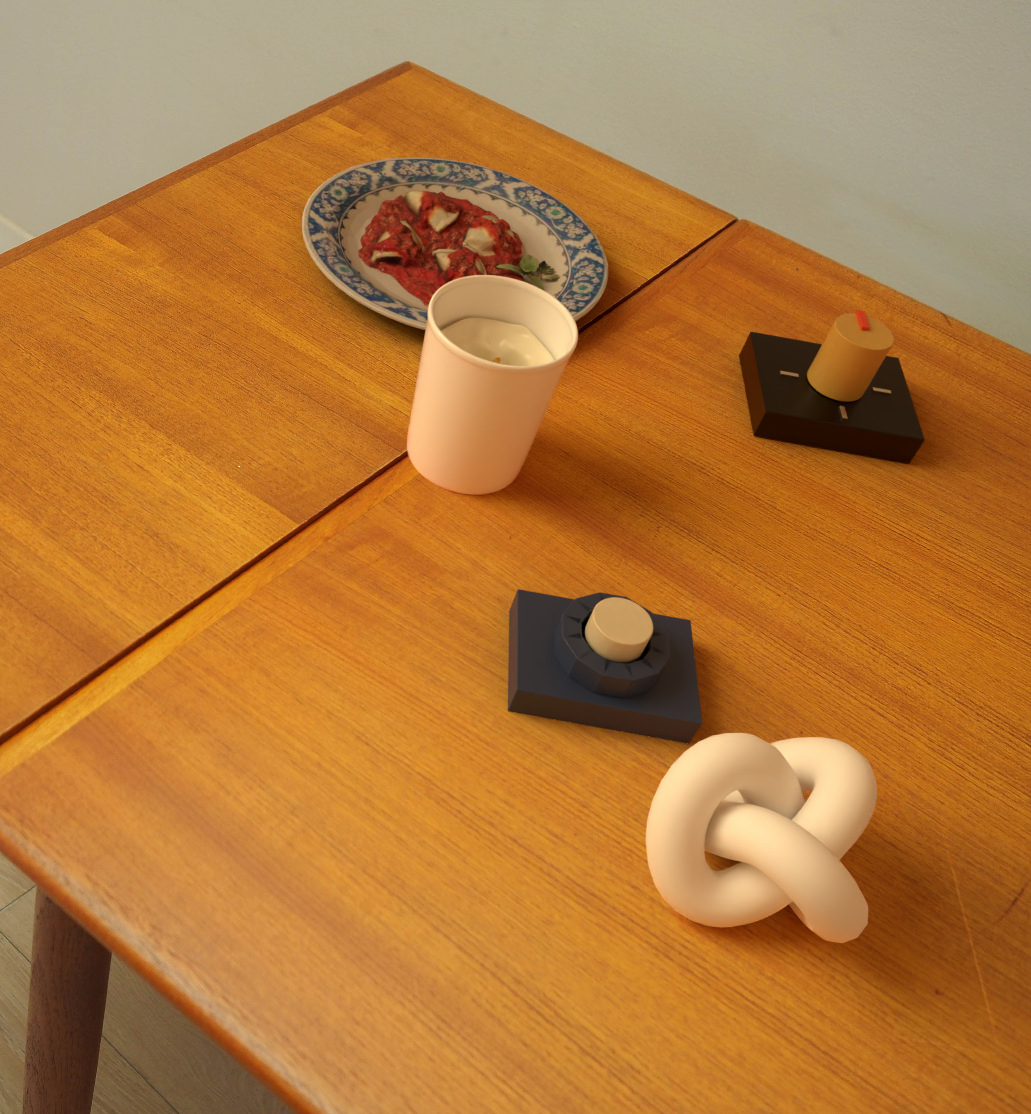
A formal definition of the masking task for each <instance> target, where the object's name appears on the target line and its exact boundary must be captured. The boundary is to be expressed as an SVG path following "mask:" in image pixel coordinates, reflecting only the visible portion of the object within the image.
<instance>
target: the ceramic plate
mask: <svg viewBox="0 0 1031 1114" xmlns="http://www.w3.org/2000/svg"><path fill="white" fill-rule="evenodd" d="M303 209H304V210H303V212H302V217H301V233H302V234H301V235H302V238H303V242H304V244H305V247H306V249H307V252H308V254H309V255H310V257H311V259H312V261H313V262H314V264H315V265H316V266H317V268H318V269H319V270H320V272H322V274H323V275H324V276H325V277H326V278H327V279H328V280H329V281H330V282H331V283H332V284H333V285H335V286H336V287H337V288H338V289H339V290H341V292H343V293H345V294H346V295H347V296H348V297H350V298H352V300H355V301H356V302H358V303H359V304H361V305H362V306H364V307H366V308H368V309H369V310H372V311H374V312H376V313H378V314H379V315H382V316H384V317H386V318H389V319H391V320H394V321H396V322H398V323H401V324H404V325H407V326H409V327H413V328H416V329H420V330H423V331H425V330H426V324H427V318H428V306H429V303H430V300H431V298H432V296H433V295H434V293H435V292H436V291H437V290H438V289H439V288H440V287H442V286H443V285H445V284H446V283H448V282H450V281H453V280H455V279H458V278H462V277H467V276H474V275H494V276H502V277H508V278H512V279H516V280H520V281H523V282H526V283H529V284H531V285H533V286H536V287H538V288H540V289H542V290H544V291H545V292H547V293H549V294H550V295H552V296H553V297H554V298H556V299H557V300H558V301H560V302H561V303H562V304H563V305H564V306H565V307H566V308H567V310H568V311H569V312H570V313H571V315H572V317H573V318H574V320H575V322H577V321H579V320H580V319H581V318H583V317H585V316H586V315H587V314H588V313H589V312H590V311H591V310H592V309H593V308H594V307H595V306H596V305H597V304H598V303H599V301H600V300H601V297H602V296H603V294H604V292H605V290H606V287H607V284H608V281H609V280H608V278H609V263H608V259H607V258H608V257H607V255H606V252H605V249H604V247H603V245H602V243H601V241H600V238H599V237H598V236H597V235H596V233H595V232H594V231H593V229H592V227H590V225H588V223H587V222H586V221H585V220H584V219H583V218H582V217H581V216H580V215H579V214H578V213H577V212H575V211H574V210H573V209H572V208H571V207H570V206H569V205H567V204H566V203H564V202H563V201H562V200H560V199H558V198H557V197H556V196H553V194H551V193H549V192H547V191H546V190H544V189H542V188H540V187H538V186H537V185H534V184H533V183H530V182H528V181H526V180H524V179H522V178H520V177H517V176H514V175H512V174H509V173H507V172H503V171H500V170H497V169H494V168H491V167H487V166H484V165H481V164H476V163H472V162H467V161H460V160H456V159H455V160H454V159H447V158H440V157H430V156H429V157H427V156H426V157H422V156H421V157H420V156H419V157H418V156H417V157H416V156H415V157H414V156H413V157H412V156H411V157H410V156H409V157H405V156H404V157H390V158H389V157H388V158H384V159H379V160H374V161H368V162H364V163H360V164H357V165H353V166H351V167H348V168H347V169H344V170H341V171H340V172H338V173H336V174H334V175H332V176H331V177H329V178H327V179H326V180H325V181H324V182H322V183H321V184H320V185H319V186H318V187H317V188H316V189H315V190H314V191H312V194H311V195H310V196H309V198H308V200H307V201H306V203H305V205H304V208H303Z"/></svg>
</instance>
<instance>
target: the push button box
mask: <svg viewBox="0 0 1031 1114" xmlns="http://www.w3.org/2000/svg"><path fill="white" fill-rule="evenodd" d="M613 597H617V598H624V599H627V600H630V601H633V602H635V603H636V604H638V605H639V606H641V607H642V608H643V609H644V610H645V611H646V612H647V613H648V614H649V616H650V618H651V620H652V623H653V633H652V635H651V637H650V639H649V641H648V643H647V645H646V647H645V649H644V651H643V652H642V654H641V655H640V656H639V657H638V658H637V659H635V660H633V661H630V662H614V661H611V660H608V659H605V658H603V657H601V656H600V655H598V654H597V653H596V652H595V651H594V650H593V649H592V648H591V647H590V646H589V644H588V642H587V640H586V637H585V627H586V625H587V623H588V620H589V618H590V616H591V614H592V612H593V610H594V607H595V606H596V605H597V604H598V603H599V602H600V601H602V600H604V599H607V598H613ZM694 646H695V645H694V638H693V629H692V621H691V620H690V619H688V618H687V619H685V618H680V617H676V616H671V615H670V616H669V615H664V614H659V613H654V612H652V611H651V610H649V609H648V608H646V607H644V606H643V605H641V604H639V603H638V602H636V601H635V600H633V599H631V598H629V597H627V596H624V595H623V596H622V595H618V594H613V593H612V594H611V593H607V592H601V591H600V592H595V593H591V594H588V595H584V596H580V597H577V598H571V597H564V596H559V595H552V594H549V593H548V594H547V593H543V592H536V591H532V590H526V589H520V588H517V590H516V592H515V595H514V598H513V600H512V603H511V605H510V608H509V610H508V662H507V664H508V666H507V671H508V672H507V712H510V713H515V712H516V713H515V714H521V715H527V716H531V715H532V717H536V718H537V717H538V718H543V719H549V720H554V719H556V720H555V721H559V722H560V721H561V722H565V721H566V722H565V723H570V722H571V724H576V723H577V725H582V726H588V727H594V728H599V729H603V730H609V729H610V731H615V730H616V732H621V731H623V732H621V733H627V734H631V735H632V734H633V735H637V734H638V736H643V735H644V736H643V737H648V736H650V737H649V738H655V739H659V738H660V739H659V740H667V741H671V740H672V742H676V741H677V742H676V743H682V744H687V743H688V745H690V744H691V742H692V741H693V740H694V738H695V736H696V735H697V733H698V732H699V730H700V728H701V726H702V725H703V717H702V709H701V699H700V690H699V682H698V681H699V680H698V673H697V664H696V655H695V647H694ZM689 743H690V744H689Z"/></svg>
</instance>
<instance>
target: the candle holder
mask: <svg viewBox="0 0 1031 1114" xmlns="http://www.w3.org/2000/svg"><path fill="white" fill-rule="evenodd" d="M576 322H577V321H575V320H574V318H573V317H572V315H571V313H570V312H569V311H568V310H567V308H566V307H565V306H564V305H563V304H562V303H561V302H560V301H558V300H557V299H556V298H554V297H553V296H552V295H550V294H549V293H547V292H545V291H544V290H542V289H540V288H538V287H536V286H533V285H531V284H529V283H526V282H523V281H520V280H516V279H512V278H508V277H502V276H494V275H474V276H467V277H462V278H458V279H455V280H453V281H450V282H448V283H446V284H445V285H443V286H442V287H440V288H439V289H438V290H437V291H436V292H435V293H434V295H433V296H432V298H431V300H430V303H429V306H428V318H427V324H426V330H424V336H423V341H422V347H421V353H420V360H419V365H418V371H417V376H416V381H415V387H414V393H413V399H412V405H411V412H410V417H409V423H408V428H407V430H408V431H407V436H406V452H407V456H408V458H409V461H410V462H411V464H412V465H413V467H414V468H415V470H416V471H417V472H418V473H419V474H420V475H421V476H422V477H423V478H425V479H426V480H427V481H428V482H430V483H432V484H434V485H435V486H437V487H440V488H441V489H444V490H447V491H449V492H453V493H457V494H461V495H470V496H481V495H488V494H493V493H497V492H499V491H502V490H504V489H505V488H507V487H508V486H509V485H511V484H512V483H513V482H514V481H515V480H516V478H517V477H518V475H519V474H520V472H521V470H522V467H523V466H524V464H525V461H526V459H527V457H528V455H529V453H530V450H531V448H532V446H533V444H534V441H535V439H536V437H537V435H538V432H539V430H540V427H541V425H542V423H543V421H544V418H545V416H546V414H547V411H548V409H549V407H550V405H551V402H552V400H553V398H554V395H555V393H556V391H557V388H558V386H559V384H560V381H561V379H562V377H563V374H564V372H565V370H566V367H567V366H568V363H569V362H570V358H571V357H572V355H573V353H574V352H575V350H576V348H577V345H578V342H579V330H578V326H577V323H576Z"/></svg>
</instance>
